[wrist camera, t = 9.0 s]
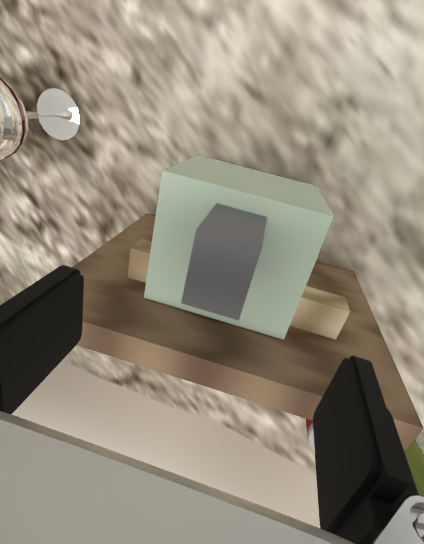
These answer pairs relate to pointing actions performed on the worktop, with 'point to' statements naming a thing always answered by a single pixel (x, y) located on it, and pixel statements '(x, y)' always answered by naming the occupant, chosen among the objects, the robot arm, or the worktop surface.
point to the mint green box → (235, 243)
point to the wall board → (238, 335)
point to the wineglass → (50, 111)
